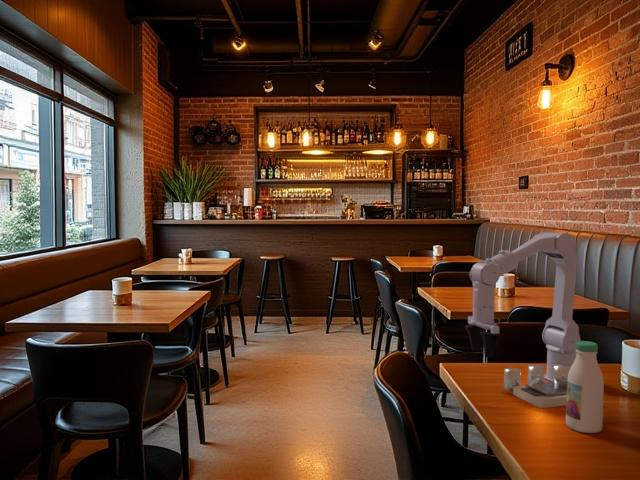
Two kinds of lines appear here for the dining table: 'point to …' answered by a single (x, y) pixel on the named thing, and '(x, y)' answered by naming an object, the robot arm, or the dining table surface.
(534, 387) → the grey metal plate
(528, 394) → the scale
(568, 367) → the cylinder
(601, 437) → the dining table surface
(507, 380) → the cylinder
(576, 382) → the milk bottle
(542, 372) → the cylinder
